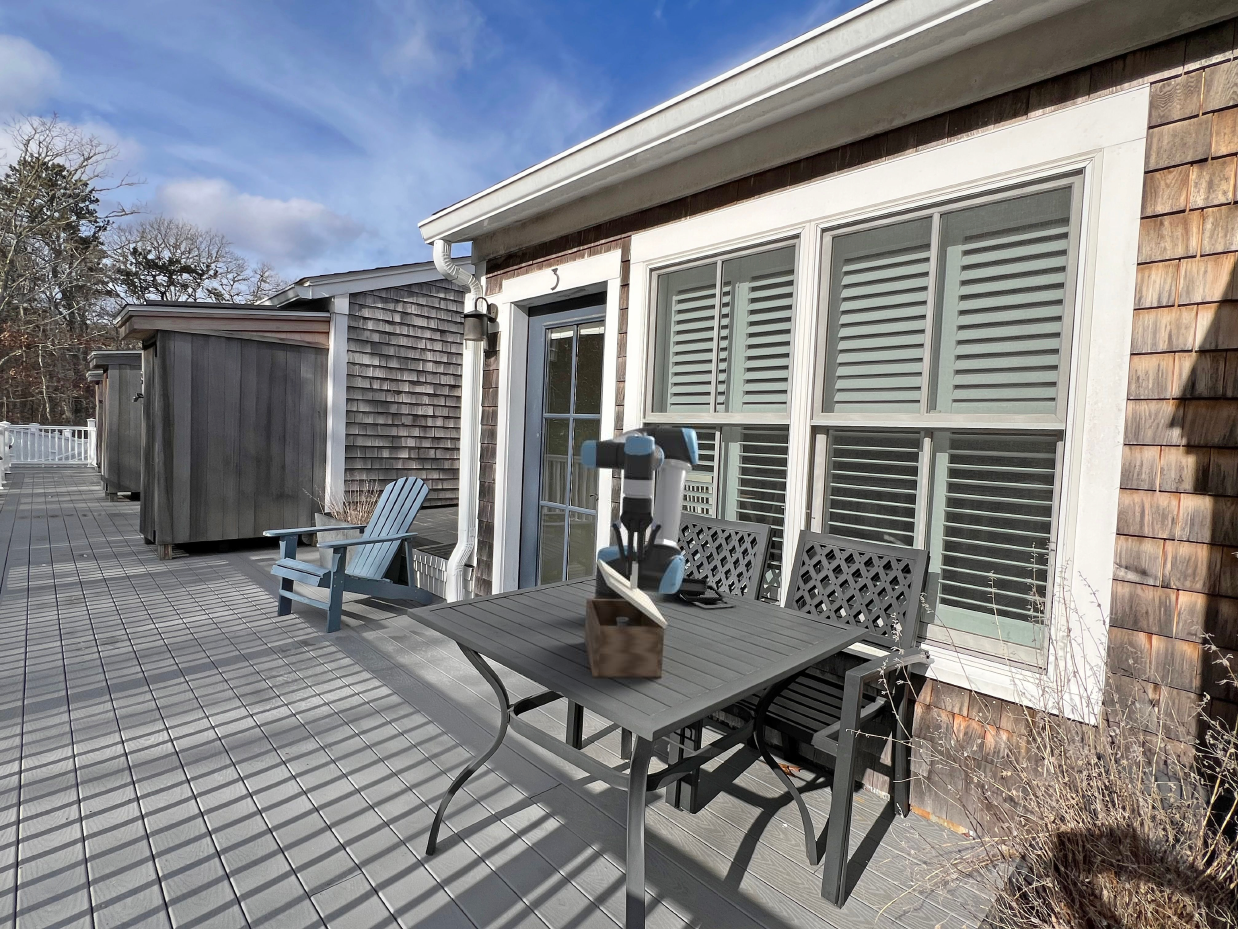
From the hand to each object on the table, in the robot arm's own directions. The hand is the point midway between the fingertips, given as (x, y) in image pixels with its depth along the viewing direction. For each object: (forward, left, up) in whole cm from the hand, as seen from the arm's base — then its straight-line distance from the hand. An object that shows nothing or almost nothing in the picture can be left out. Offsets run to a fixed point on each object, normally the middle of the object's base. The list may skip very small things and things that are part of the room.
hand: (633, 587), depth 166 cm
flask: (+2, 0, -18) cm, 18 cm away
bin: (+2, 0, -18) cm, 18 cm away
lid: (+1, 0, -1) cm, 2 cm away
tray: (-33, -63, -19) cm, 74 cm away
